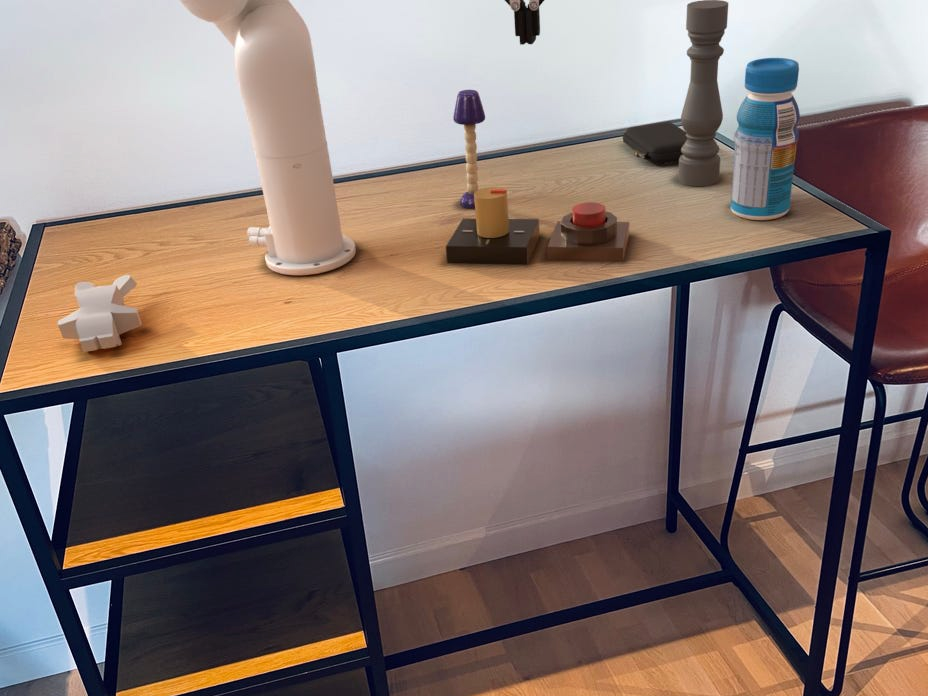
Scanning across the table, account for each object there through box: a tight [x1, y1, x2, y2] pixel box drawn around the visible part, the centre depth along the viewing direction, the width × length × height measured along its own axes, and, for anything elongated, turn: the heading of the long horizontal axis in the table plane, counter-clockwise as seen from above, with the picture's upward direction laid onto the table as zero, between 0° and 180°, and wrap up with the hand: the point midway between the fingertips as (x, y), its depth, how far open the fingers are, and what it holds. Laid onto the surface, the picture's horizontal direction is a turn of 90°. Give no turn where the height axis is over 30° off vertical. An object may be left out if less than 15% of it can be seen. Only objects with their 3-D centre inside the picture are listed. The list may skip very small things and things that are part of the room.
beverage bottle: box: [729, 57, 801, 221], centre depth 135 cm, size 8×8×20 cm
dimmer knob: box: [474, 186, 510, 238], centre depth 133 cm, size 4×4×6 cm
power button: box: [571, 201, 606, 227], centre depth 132 cm, size 4×4×2 cm
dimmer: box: [445, 217, 541, 266], centre depth 136 cm, size 11×10×3 cm
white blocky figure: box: [57, 274, 142, 353], centre depth 124 cm, size 10×5×15 cm
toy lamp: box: [453, 89, 486, 209], centre depth 146 cm, size 5×5×17 cm
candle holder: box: [677, 0, 729, 187], centre depth 145 cm, size 6×6×25 cm
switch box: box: [546, 210, 630, 263], centre depth 133 cm, size 10×9×4 cm
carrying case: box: [622, 121, 688, 166], centre depth 164 cm, size 11×3×15 cm
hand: (528, 41), depth 127 cm, fingers closed
